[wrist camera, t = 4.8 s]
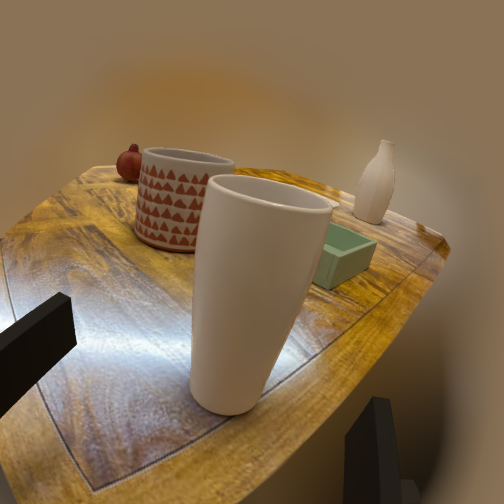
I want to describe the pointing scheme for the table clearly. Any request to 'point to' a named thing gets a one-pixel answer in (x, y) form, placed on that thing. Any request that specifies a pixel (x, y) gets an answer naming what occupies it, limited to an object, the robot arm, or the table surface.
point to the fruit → (130, 164)
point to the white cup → (249, 283)
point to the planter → (174, 195)
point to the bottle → (376, 186)
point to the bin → (343, 256)
